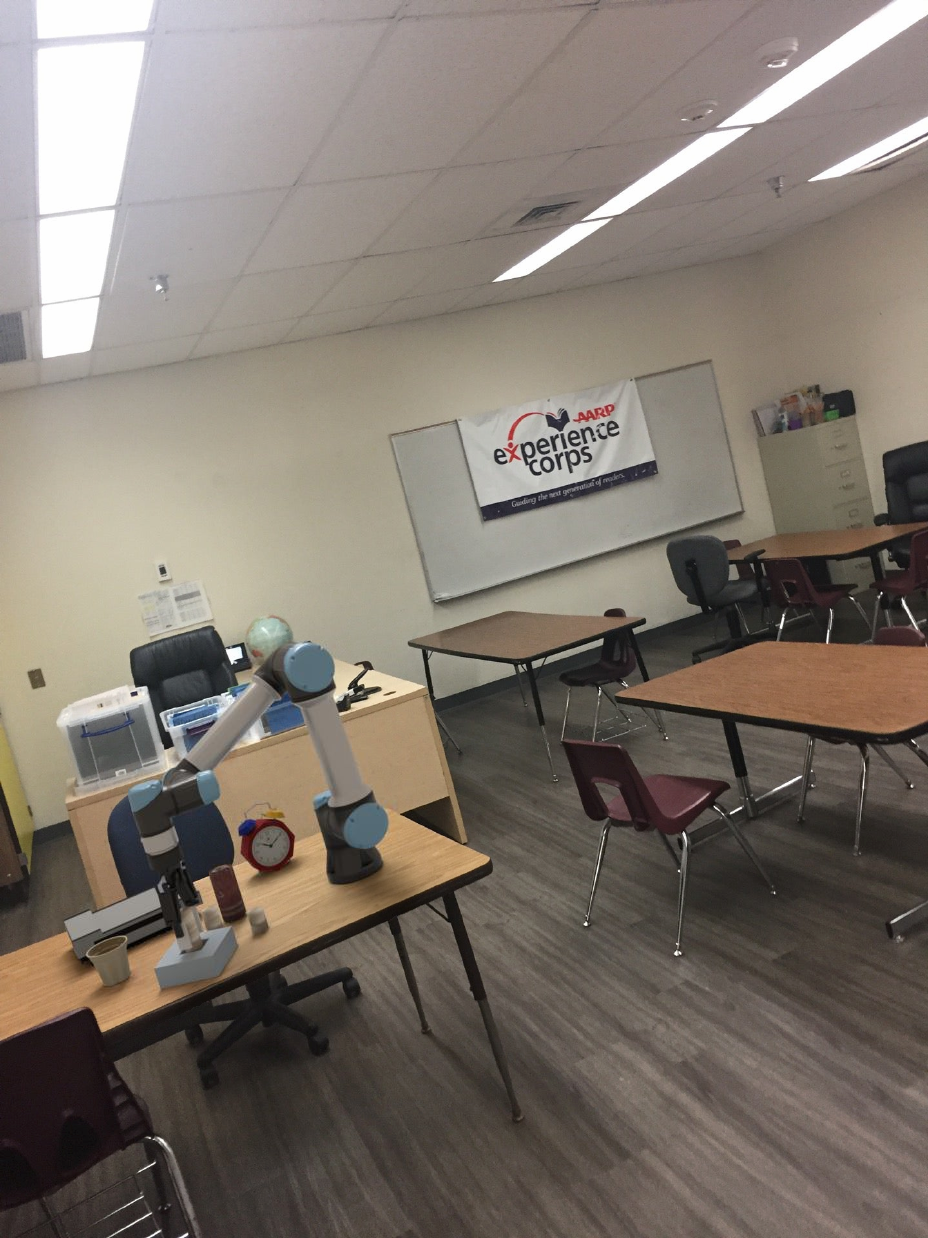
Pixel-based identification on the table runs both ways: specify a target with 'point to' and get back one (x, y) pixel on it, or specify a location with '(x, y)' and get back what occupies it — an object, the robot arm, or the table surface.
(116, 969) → the flower pot
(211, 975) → the hole block
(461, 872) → the table surface
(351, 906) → the table surface
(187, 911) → the dowel long
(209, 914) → the dowel medium
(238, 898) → the can
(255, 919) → the dowel short
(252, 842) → the alarm clock
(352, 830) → the robot arm
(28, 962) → the table surface
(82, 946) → the game console
